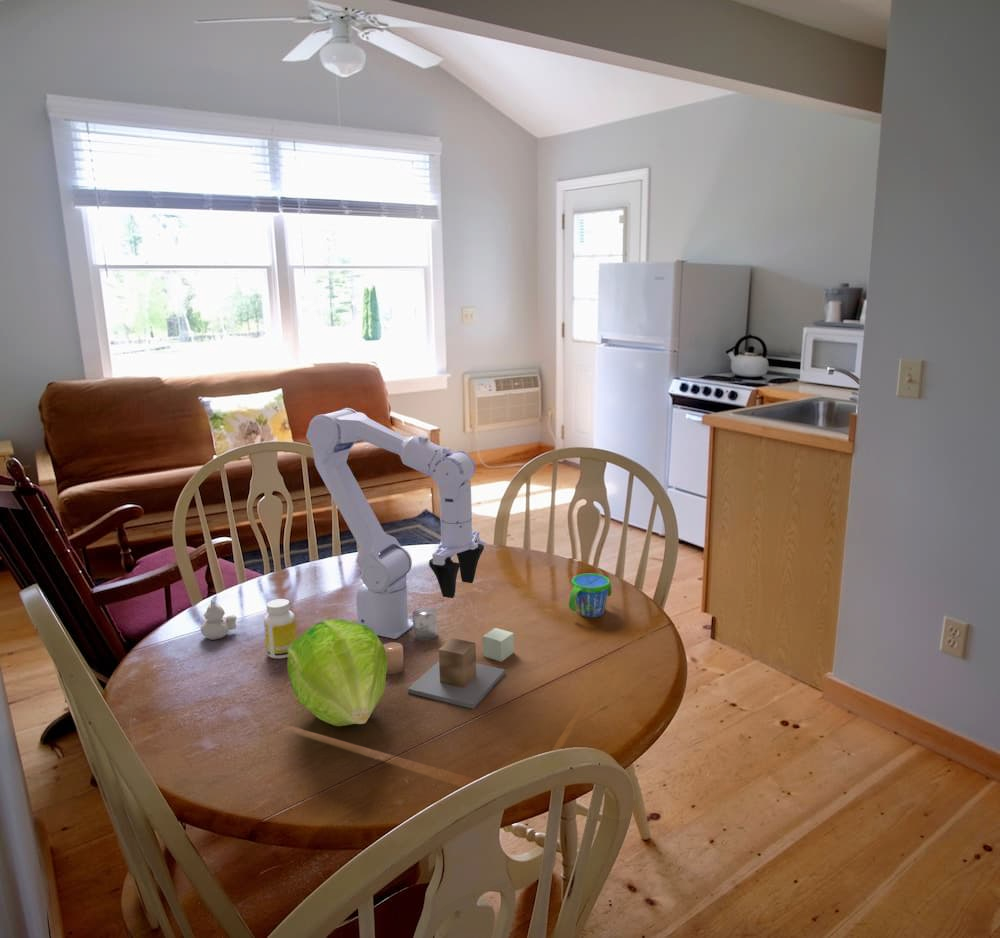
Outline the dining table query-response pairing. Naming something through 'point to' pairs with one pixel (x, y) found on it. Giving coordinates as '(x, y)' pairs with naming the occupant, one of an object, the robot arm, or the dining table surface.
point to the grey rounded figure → (217, 622)
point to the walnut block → (457, 662)
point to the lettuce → (338, 671)
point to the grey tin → (424, 624)
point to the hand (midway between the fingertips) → (458, 589)
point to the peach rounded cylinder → (394, 657)
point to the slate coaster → (457, 695)
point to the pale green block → (498, 644)
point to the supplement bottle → (279, 628)
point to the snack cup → (589, 594)
